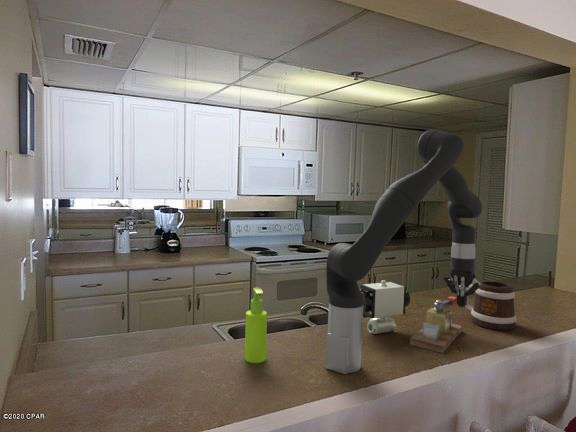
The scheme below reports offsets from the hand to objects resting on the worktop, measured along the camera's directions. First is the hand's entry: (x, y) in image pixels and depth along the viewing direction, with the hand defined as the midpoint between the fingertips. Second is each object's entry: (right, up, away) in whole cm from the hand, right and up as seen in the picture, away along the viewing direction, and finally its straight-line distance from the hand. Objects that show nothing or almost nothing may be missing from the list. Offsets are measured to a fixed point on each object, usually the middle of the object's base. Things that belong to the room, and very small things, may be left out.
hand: (461, 306), depth 137 cm
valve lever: (-6, 0, -1) cm, 6 cm away
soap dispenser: (-68, -9, -25) cm, 73 cm away
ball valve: (-28, -9, 0) cm, 29 cm away
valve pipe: (-10, -7, -5) cm, 13 cm away
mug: (+15, -9, +13) cm, 22 cm away
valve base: (-10, -9, -4) cm, 14 cm away
